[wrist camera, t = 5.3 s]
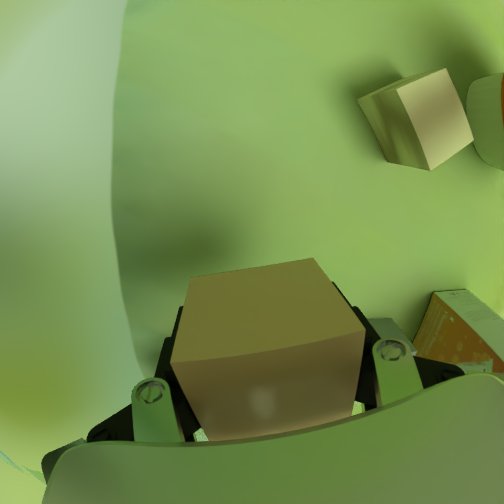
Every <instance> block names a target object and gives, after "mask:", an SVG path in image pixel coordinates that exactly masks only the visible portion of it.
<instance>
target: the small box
mask: <svg viewBox="0 0 504 504" xmlns="http://www.w3.org/2000/svg"><path fill="white" fill-rule="evenodd" d="M412 345H413V346H414V347H415V348H416V350H417V353H416V355H415V356H418V357H422V358H426V359H431V360H435V361H440V362H445V363H449V364H453V365H456V366H458V367H460V368H461V369H462V370H463V371H464V373H467V372H468V371H479V372H493V373H504V320H503V319H502V318H501V317H500V316H499V315H498V314H496V313H495V312H494V311H493V310H492V309H491V308H490V307H488V306H487V305H486V304H485V303H484V302H482V301H481V300H480V299H479V298H477V297H476V296H475V295H474V294H472V293H471V292H470V291H469V290H455V291H443V292H434V293H433V295H432V298H431V301H430V304H429V306H428V309H427V312H426V314H425V316H424V319H423V321H422V324H421V326H420V328H419V330H418V333H417V335H416V337H415V339H414V341H413V343H412Z"/></svg>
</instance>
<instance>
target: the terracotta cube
mask: <svg viewBox="0 0 504 504" xmlns="http://www.w3.org/2000/svg"><path fill="white" fill-rule="evenodd" d="M365 331H366V329H365V327H364V326H363V325H362V323H361V322H360V320H359V319H358V318H357V316H356V315H355V313H354V312H353V311H352V309H351V308H350V307H349V305H348V304H347V302H346V301H345V300H344V298H343V297H342V296H341V294H340V293H339V292H338V290H337V289H336V287H335V286H334V285H333V283H332V282H331V281H330V279H329V278H328V277H327V275H326V274H325V273H324V271H323V270H322V269H321V268H320V266H319V265H318V264H317V262H316V261H315V260H314V258H308V259H303V260H297V261H291V262H285V263H279V264H273V265H267V266H261V267H255V268H248V269H242V270H236V271H230V272H223V273H217V274H211V275H204V276H198V277H191V280H190V284H189V288H188V291H187V295H186V299H185V303H184V307H183V311H182V315H181V319H180V323H179V327H178V331H177V335H176V339H175V343H174V348H173V352H172V356H171V361H170V364H171V366H172V368H173V371H174V373H175V375H176V377H177V379H178V382H179V384H180V386H181V388H182V390H183V392H184V394H185V396H186V398H187V400H188V402H189V404H190V406H191V408H192V410H193V412H194V414H195V416H196V418H197V420H198V422H199V423H200V425H201V427H202V429H203V431H204V433H205V434H206V436H207V438H208V440H209V441H220V440H232V439H241V438H250V437H258V436H265V435H271V434H277V433H283V432H288V431H293V430H298V429H303V428H308V427H312V426H316V425H321V424H325V423H328V422H332V421H336V420H340V419H343V418H347V417H350V416H351V414H352V409H353V405H354V400H355V395H356V390H357V385H358V379H359V373H360V367H361V361H362V354H363V347H364V339H365Z"/></svg>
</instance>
